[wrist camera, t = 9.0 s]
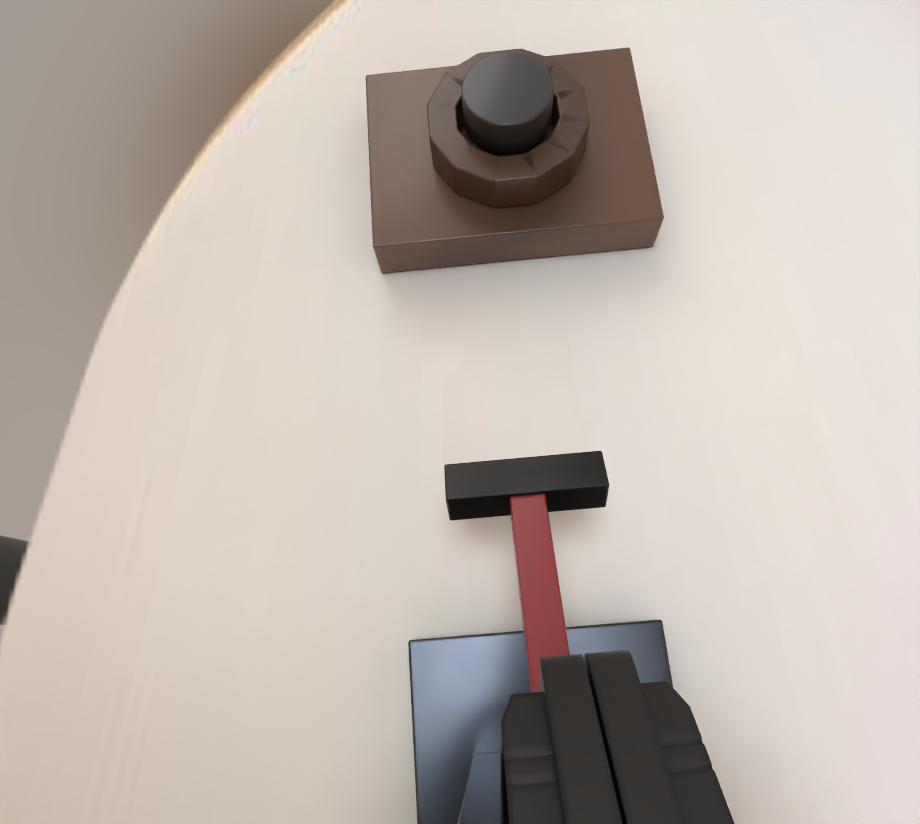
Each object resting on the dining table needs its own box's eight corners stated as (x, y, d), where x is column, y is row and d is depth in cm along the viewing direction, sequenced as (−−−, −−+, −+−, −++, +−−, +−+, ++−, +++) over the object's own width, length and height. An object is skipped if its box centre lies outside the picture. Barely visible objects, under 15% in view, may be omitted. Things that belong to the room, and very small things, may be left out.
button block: (381, 273, 31) (364, 222, 27) (373, 109, 33) (357, 41, 30) (653, 247, 30) (675, 190, 26) (622, 84, 33) (637, 12, 29)
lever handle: (449, 495, 23) (442, 454, 21) (597, 481, 23) (603, 440, 21) (475, 1001, 15) (467, 1008, 13) (703, 985, 15) (728, 990, 13)
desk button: (467, 160, 28) (465, 129, 26) (460, 88, 29) (457, 55, 27) (556, 150, 28) (559, 119, 26) (545, 79, 29) (548, 45, 27)
